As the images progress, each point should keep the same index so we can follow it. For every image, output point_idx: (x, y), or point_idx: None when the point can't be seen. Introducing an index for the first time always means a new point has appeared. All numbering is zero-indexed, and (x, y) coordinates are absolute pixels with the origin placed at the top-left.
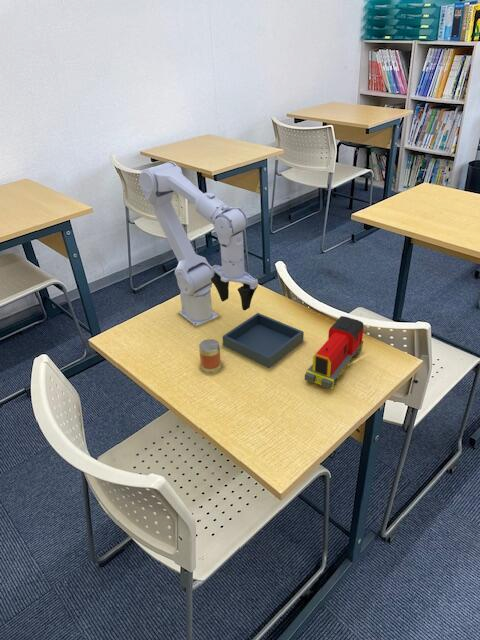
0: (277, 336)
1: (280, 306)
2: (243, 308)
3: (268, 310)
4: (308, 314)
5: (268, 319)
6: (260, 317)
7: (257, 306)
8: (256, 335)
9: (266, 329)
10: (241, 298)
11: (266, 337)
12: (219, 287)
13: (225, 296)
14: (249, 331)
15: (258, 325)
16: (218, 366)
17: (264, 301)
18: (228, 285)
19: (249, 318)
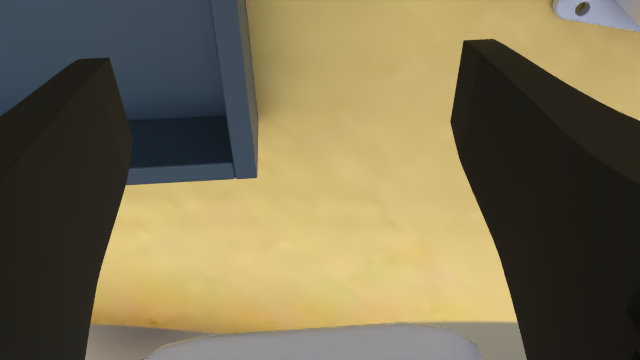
0: (13, 87)
1: (286, 290)
2: (74, 66)
3: (311, 238)
4: (120, 315)
5: (129, 166)
6: (211, 154)
7: (392, 231)
8: (123, 2)
9: (138, 100)
10: (10, 153)
11: (49, 31)
12: (574, 153)
13: (470, 114)
14: (207, 8)
15: (219, 101)
16: None
17: (391, 276)
18: (503, 268)
19: (243, 92)
